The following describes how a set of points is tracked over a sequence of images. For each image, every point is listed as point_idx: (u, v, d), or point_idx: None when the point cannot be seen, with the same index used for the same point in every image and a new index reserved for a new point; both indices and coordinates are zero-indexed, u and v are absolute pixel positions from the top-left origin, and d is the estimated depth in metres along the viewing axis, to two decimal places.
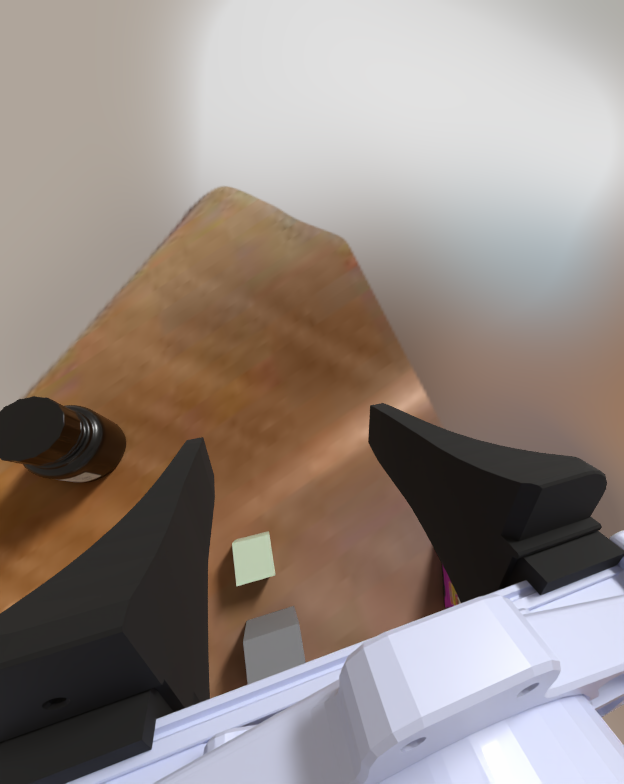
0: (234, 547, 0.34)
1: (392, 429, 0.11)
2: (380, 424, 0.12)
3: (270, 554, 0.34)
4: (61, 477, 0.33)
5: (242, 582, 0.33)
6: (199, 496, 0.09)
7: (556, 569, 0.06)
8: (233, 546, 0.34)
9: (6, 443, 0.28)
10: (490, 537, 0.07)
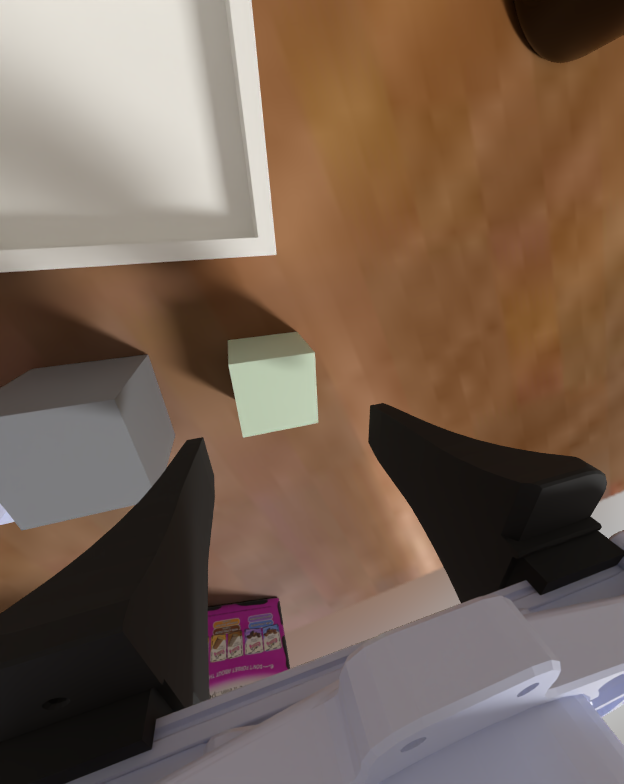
0: (306, 357, 0.15)
1: (392, 429, 0.11)
2: (380, 424, 0.12)
3: (281, 427, 0.17)
4: None
5: (235, 376, 0.14)
6: (199, 496, 0.09)
7: (556, 569, 0.06)
8: (308, 355, 0.15)
9: None
10: (490, 537, 0.07)
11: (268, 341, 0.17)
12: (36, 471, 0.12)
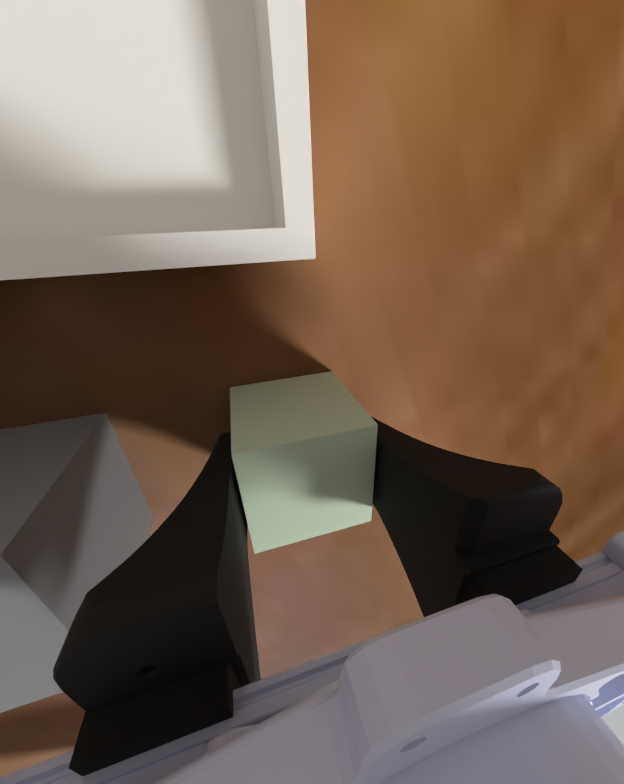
0: (363, 433, 0.09)
1: None
2: None
3: (315, 532, 0.10)
4: None
5: (243, 471, 0.08)
6: None
7: (508, 587, 0.06)
8: (367, 430, 0.09)
9: None
10: (445, 552, 0.07)
11: (292, 392, 0.11)
12: None
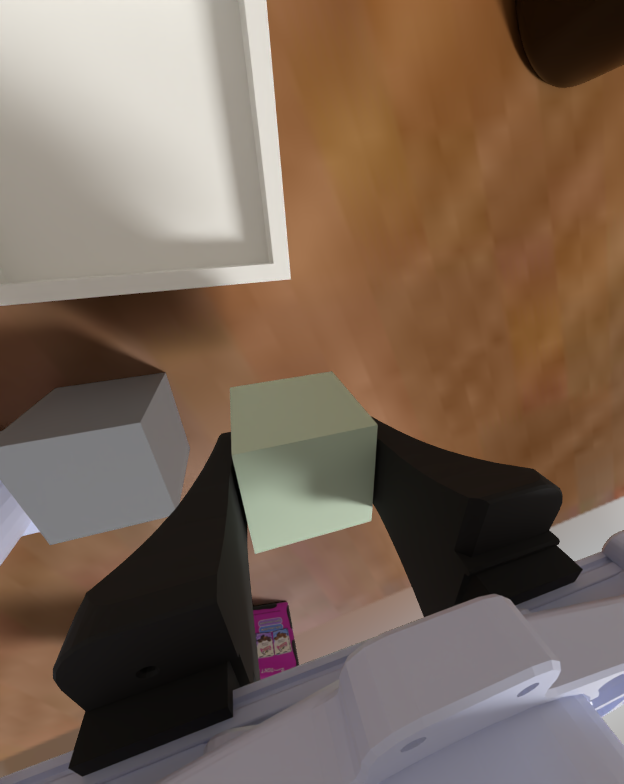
0: (363, 434, 0.09)
1: None
2: None
3: (316, 532, 0.10)
4: None
5: (243, 472, 0.08)
6: None
7: (508, 587, 0.06)
8: (367, 430, 0.09)
9: None
10: (445, 552, 0.07)
11: (293, 392, 0.11)
12: (65, 490, 0.13)
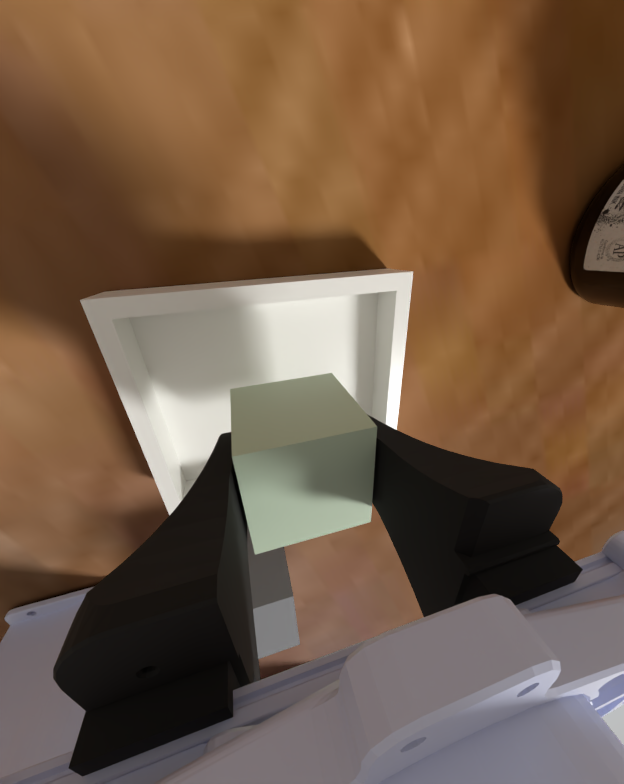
0: (362, 435, 0.09)
1: None
2: None
3: (315, 533, 0.10)
4: None
5: (243, 473, 0.08)
6: None
7: (508, 587, 0.06)
8: (366, 432, 0.09)
9: None
10: (445, 552, 0.07)
11: (293, 393, 0.11)
12: None
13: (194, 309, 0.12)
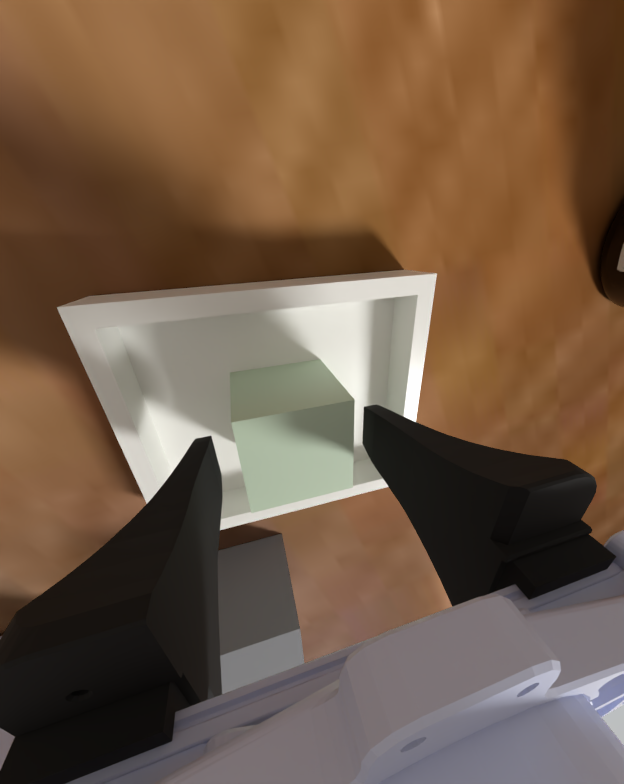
0: (342, 407, 0.11)
1: (385, 431, 0.11)
2: (373, 425, 0.12)
3: (304, 496, 0.12)
4: None
5: (241, 438, 0.10)
6: (209, 493, 0.09)
7: (545, 573, 0.06)
8: (345, 404, 0.11)
9: None
10: (480, 540, 0.07)
11: (285, 375, 0.13)
12: (232, 678, 0.16)
13: (190, 317, 0.10)
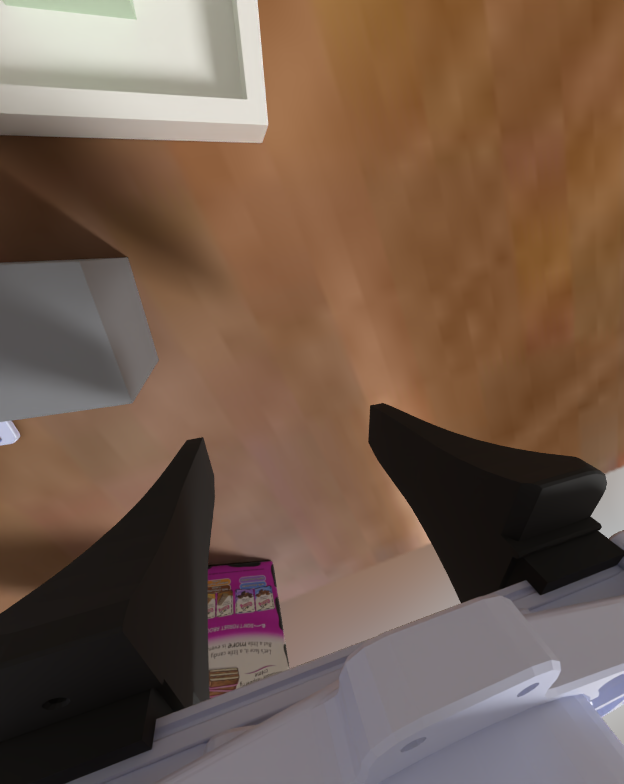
0: None
1: (392, 429, 0.11)
2: (380, 424, 0.12)
3: None
4: None
5: None
6: (199, 496, 0.09)
7: (556, 569, 0.06)
8: None
9: None
10: (490, 537, 0.07)
11: None
12: None
13: None
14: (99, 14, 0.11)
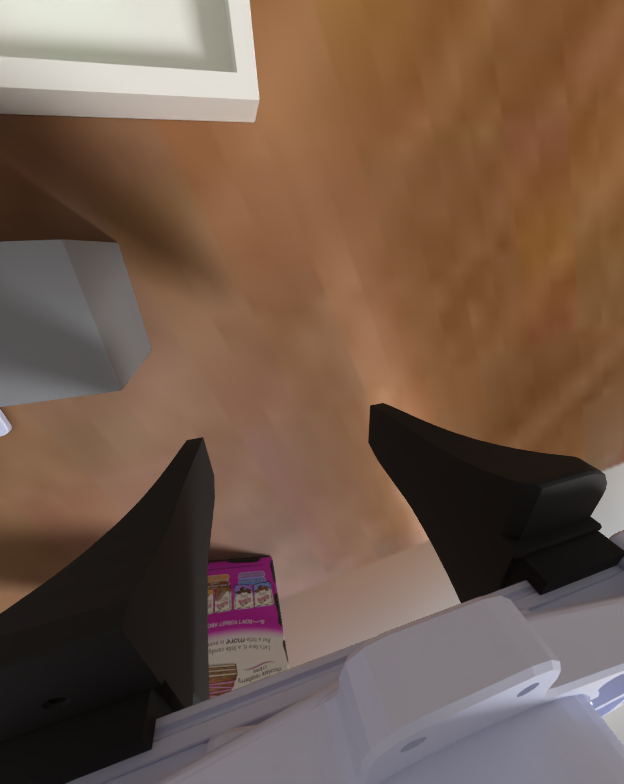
0: None
1: (392, 429, 0.11)
2: (380, 424, 0.12)
3: None
4: None
5: None
6: (199, 496, 0.09)
7: (556, 569, 0.06)
8: None
9: None
10: (490, 537, 0.07)
11: None
12: None
13: None
14: None
